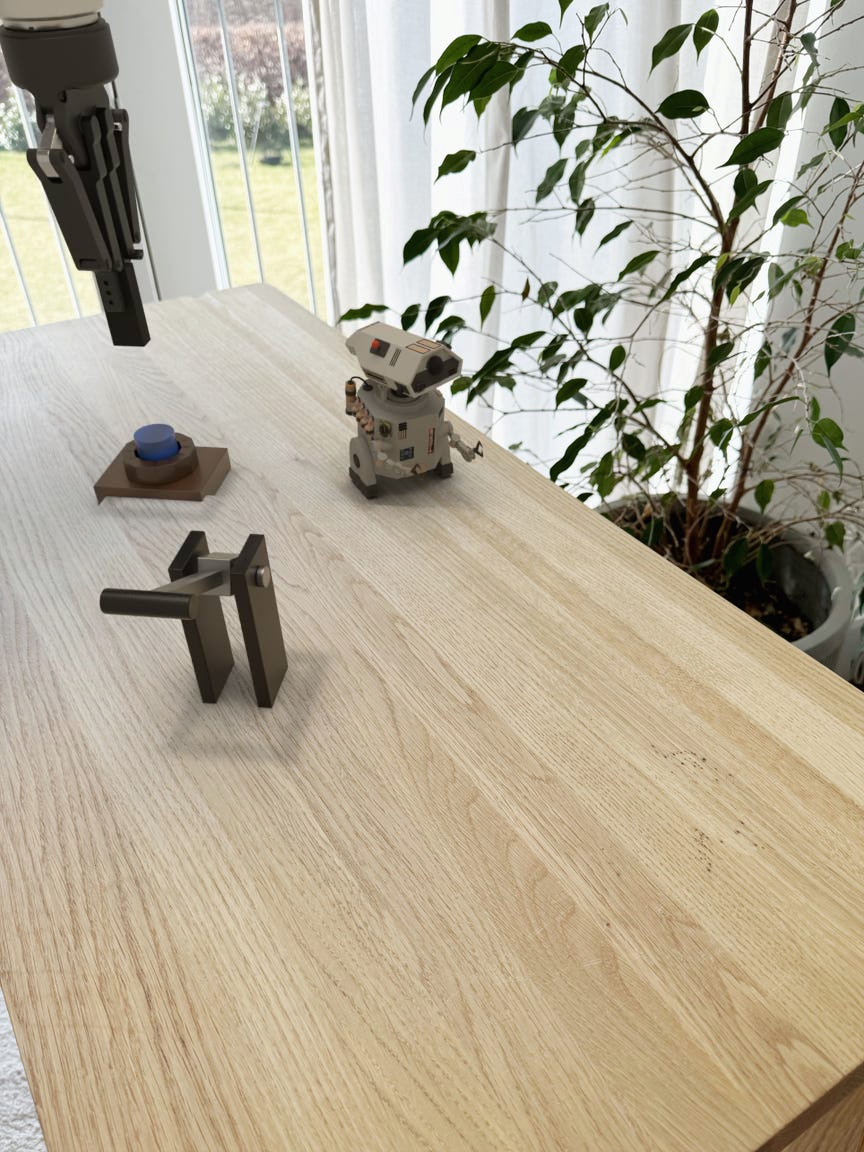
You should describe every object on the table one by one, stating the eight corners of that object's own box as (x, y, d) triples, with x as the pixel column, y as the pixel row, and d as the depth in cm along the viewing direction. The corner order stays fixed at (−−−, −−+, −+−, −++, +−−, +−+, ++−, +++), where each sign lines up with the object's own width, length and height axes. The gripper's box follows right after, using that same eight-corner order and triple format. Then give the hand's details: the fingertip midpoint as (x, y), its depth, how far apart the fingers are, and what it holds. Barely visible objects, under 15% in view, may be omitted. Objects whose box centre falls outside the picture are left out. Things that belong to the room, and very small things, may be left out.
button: (132, 462, 91) (126, 441, 89) (147, 442, 93) (141, 422, 92) (170, 464, 90) (165, 443, 89) (184, 444, 93) (179, 424, 92)
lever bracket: (284, 751, 68) (255, 603, 60) (171, 742, 69) (126, 595, 61) (319, 655, 76) (298, 511, 67) (217, 648, 76) (182, 505, 68)
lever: (188, 631, 54) (188, 587, 53) (99, 625, 54) (97, 581, 54) (266, 591, 66) (266, 555, 66) (193, 586, 67) (192, 550, 66)
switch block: (98, 507, 92) (87, 469, 89) (132, 462, 98) (122, 425, 95) (204, 513, 91) (196, 474, 88) (231, 467, 97) (224, 430, 94)
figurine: (393, 532, 88) (381, 373, 78) (343, 473, 96) (326, 320, 86) (484, 504, 91) (483, 348, 82) (429, 449, 99) (421, 300, 89)
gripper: (62, 36, 64) (146, 378, 80) (138, 3, 74) (200, 313, 90) (-48, 36, 65) (56, 375, 80) (42, 3, 75) (119, 310, 90)
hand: (132, 342), depth 85 cm, fingers closed
